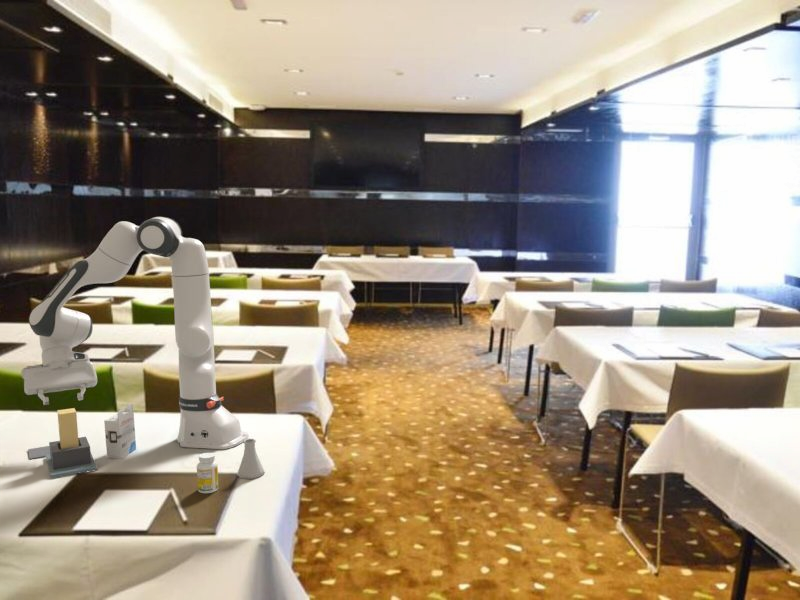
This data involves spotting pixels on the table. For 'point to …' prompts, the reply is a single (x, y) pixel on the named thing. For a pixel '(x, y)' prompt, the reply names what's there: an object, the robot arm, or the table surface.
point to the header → (70, 454)
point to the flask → (250, 462)
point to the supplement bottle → (207, 473)
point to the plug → (68, 428)
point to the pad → (39, 452)
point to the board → (70, 468)
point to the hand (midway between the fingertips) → (63, 401)
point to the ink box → (120, 433)
